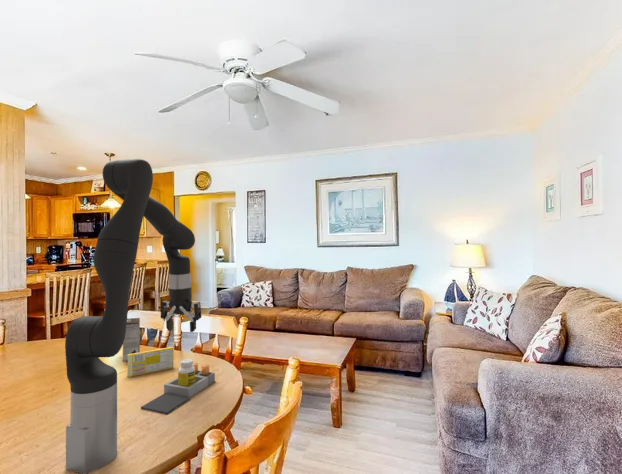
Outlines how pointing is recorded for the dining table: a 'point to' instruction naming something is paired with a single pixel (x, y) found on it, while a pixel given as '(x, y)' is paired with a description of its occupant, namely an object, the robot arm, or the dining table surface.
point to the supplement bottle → (186, 373)
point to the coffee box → (131, 338)
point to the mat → (165, 403)
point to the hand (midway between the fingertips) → (181, 330)
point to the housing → (191, 390)
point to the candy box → (150, 361)
